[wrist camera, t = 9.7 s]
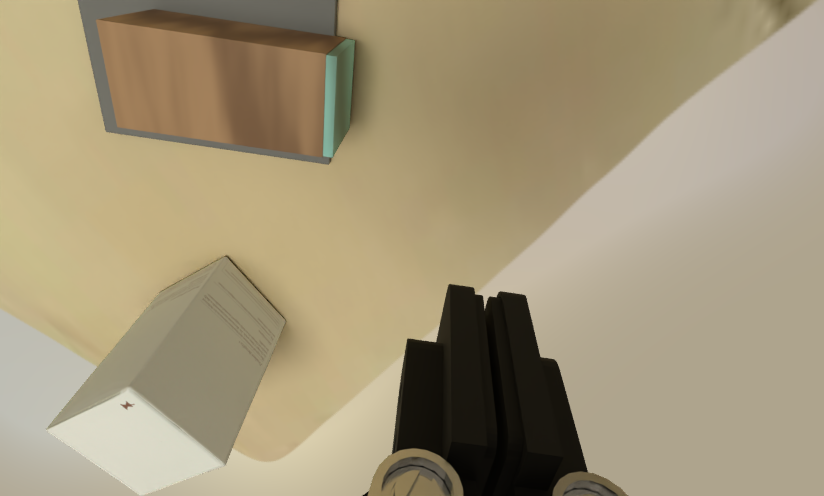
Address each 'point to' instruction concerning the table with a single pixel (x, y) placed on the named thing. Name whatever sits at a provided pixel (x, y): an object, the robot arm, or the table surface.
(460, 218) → the table surface
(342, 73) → the walnut block
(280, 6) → the mat
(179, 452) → the supplement box
